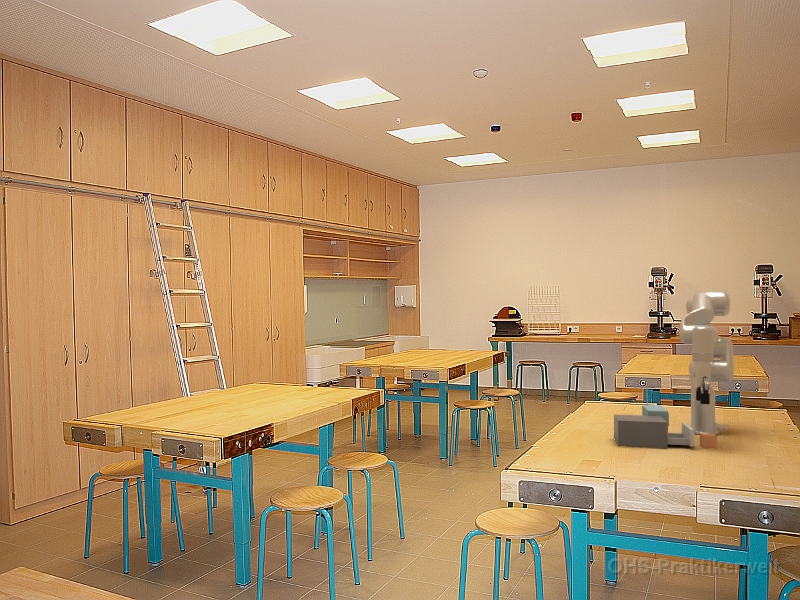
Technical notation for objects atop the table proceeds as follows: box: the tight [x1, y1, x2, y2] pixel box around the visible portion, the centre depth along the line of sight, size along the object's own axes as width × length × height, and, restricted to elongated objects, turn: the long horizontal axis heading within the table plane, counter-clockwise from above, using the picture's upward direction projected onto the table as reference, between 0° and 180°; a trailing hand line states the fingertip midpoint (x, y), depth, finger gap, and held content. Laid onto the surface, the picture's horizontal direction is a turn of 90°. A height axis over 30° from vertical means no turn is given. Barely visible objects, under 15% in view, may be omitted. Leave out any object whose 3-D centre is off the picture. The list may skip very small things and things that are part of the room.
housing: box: [613, 414, 668, 449], centre depth 267 cm, size 18×15×10 cm
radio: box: [641, 386, 670, 433], centre depth 282 cm, size 16×9×20 cm, turn 168°
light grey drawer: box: [667, 422, 695, 448], centre depth 264 cm, size 17×16×6 cm
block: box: [699, 433, 718, 450], centre depth 260 cm, size 5×5×5 cm
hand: (702, 402), depth 261 cm, fingers open, 9 cm apart
